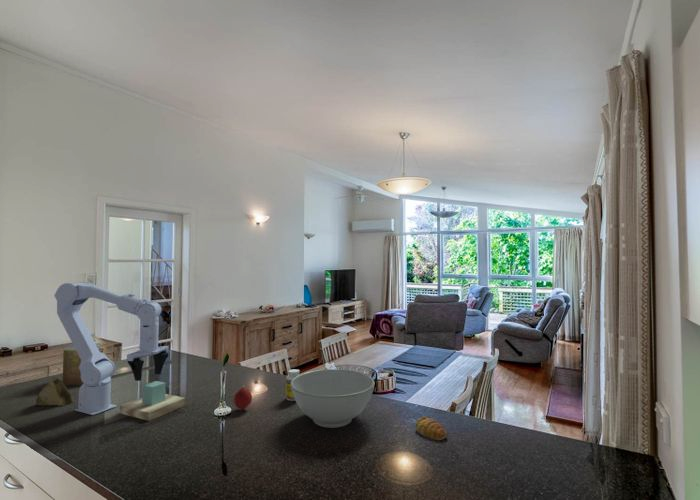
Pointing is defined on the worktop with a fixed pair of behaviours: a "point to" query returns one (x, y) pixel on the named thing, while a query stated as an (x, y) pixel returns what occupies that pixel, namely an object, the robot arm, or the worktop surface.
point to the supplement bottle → (289, 378)
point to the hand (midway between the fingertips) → (148, 377)
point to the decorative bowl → (332, 395)
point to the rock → (54, 394)
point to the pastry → (430, 428)
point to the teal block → (153, 392)
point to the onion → (243, 398)
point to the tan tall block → (77, 362)
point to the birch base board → (152, 407)
